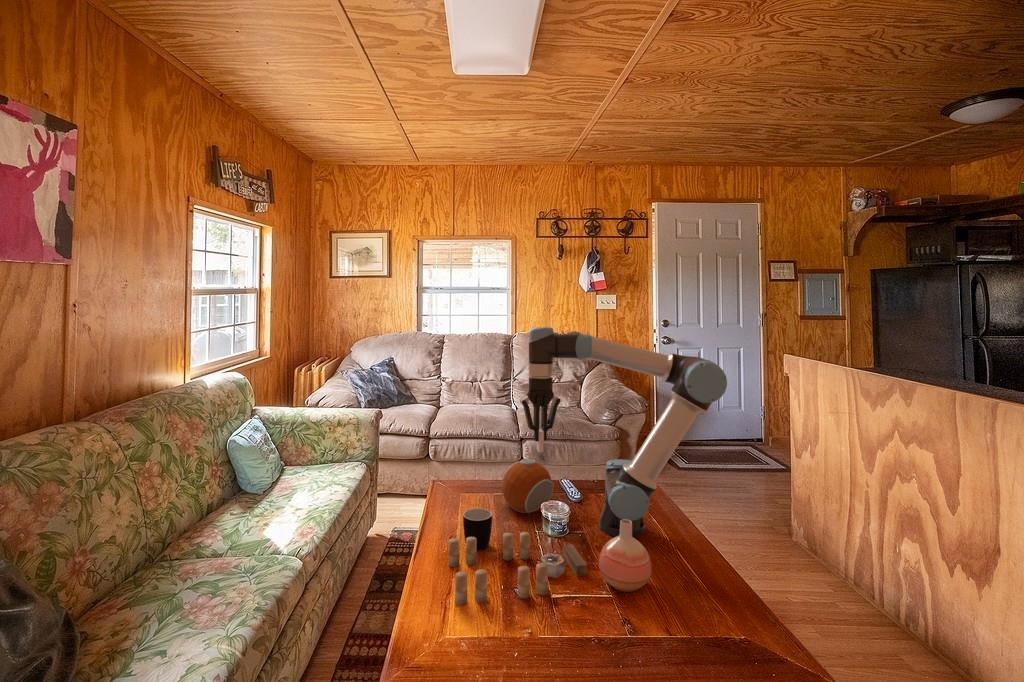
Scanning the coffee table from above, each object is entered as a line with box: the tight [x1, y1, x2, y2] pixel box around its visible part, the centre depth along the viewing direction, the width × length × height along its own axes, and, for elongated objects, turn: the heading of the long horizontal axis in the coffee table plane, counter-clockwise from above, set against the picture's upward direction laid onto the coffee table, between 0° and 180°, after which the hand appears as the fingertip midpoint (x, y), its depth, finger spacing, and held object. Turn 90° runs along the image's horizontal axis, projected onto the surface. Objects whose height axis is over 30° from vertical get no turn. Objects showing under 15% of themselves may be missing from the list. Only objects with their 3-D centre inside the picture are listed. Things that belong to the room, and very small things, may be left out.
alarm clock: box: [501, 458, 554, 514], centre depth 179 cm, size 19×18×17 cm
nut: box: [539, 552, 565, 579], centre depth 135 cm, size 6×7×4 cm
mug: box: [462, 507, 493, 552], centre depth 150 cm, size 12×9×10 cm
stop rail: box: [561, 543, 588, 577], centre depth 138 cm, size 3×12×3 cm, turn 13°
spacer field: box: [448, 531, 549, 606], centre depth 131 cm, size 24×22×7 cm
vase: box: [598, 519, 652, 593], centre depth 128 cm, size 14×14×18 cm
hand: (540, 450), depth 151 cm, fingers closed
